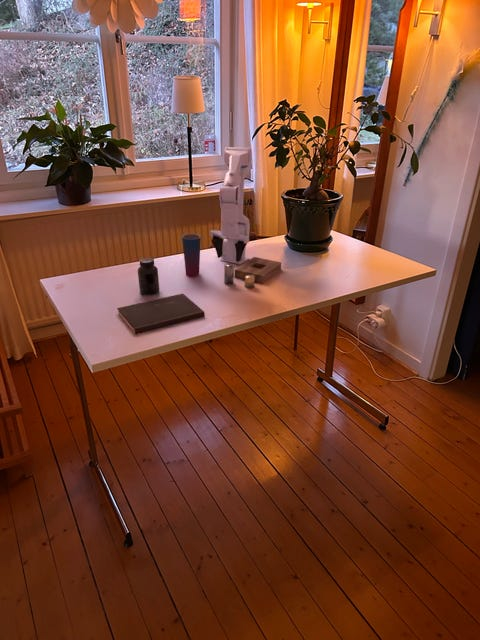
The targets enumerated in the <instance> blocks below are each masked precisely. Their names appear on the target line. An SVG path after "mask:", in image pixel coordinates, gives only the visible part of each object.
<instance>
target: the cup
mask: <svg viewBox="0 0 480 640" xmlns="http://www.w3.org/2000/svg"><path fill="white" fill-rule="evenodd" d="M181 240H182V249H183V259H184V269H185V276H187V277H189V278H195V277H198V276H200V264H201V262H200V261H201V260H200V258H201V235H200V234H198V233H185V234H183V235H182V236H181Z"/></svg>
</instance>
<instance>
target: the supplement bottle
mask: <svg viewBox="0 0 480 640" xmlns="http://www.w3.org/2000/svg"><path fill="white" fill-rule="evenodd" d="M137 277H138V278H137V279H138V287H139V292H140V294H141V295H143V296H154V295H157V294H158V293H159V292H160V281H159V279H160V278H159V270H158V267H157V266H156V265H155V259H154V258H153V257H142V258H140V259H139V267H138V268H137Z"/></svg>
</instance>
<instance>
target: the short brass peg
mask: <svg viewBox="0 0 480 640" xmlns="http://www.w3.org/2000/svg"><path fill="white" fill-rule="evenodd" d="M254 279H255V276H254V275H246V276H245V279H244V288H246V289H248V290H249V289H255V282H254Z"/></svg>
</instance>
